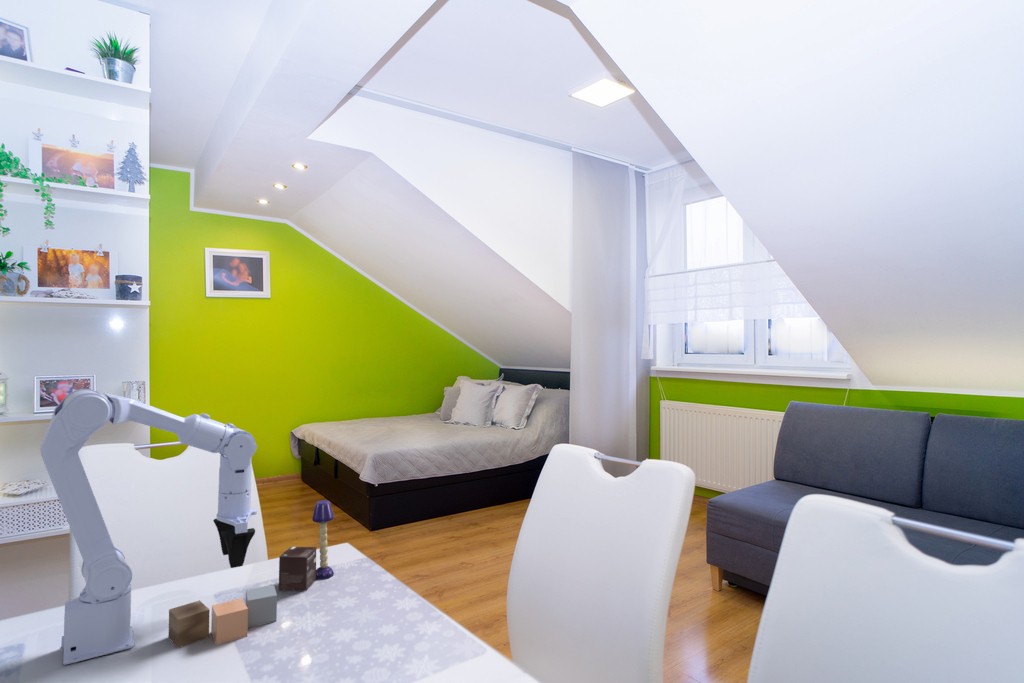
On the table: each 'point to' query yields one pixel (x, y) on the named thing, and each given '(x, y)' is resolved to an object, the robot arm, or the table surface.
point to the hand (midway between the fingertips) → (232, 560)
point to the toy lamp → (323, 536)
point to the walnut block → (188, 623)
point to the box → (297, 568)
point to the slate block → (261, 605)
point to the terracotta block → (229, 621)
